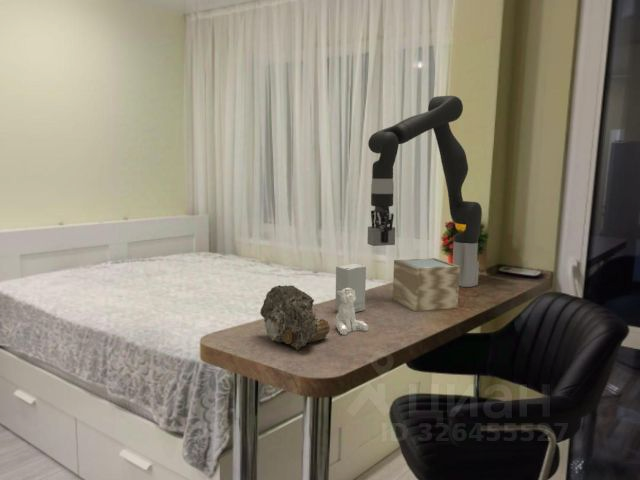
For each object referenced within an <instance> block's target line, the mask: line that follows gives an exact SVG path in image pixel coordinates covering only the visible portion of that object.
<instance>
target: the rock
mask: <svg viewBox="0 0 640 480" xmlns="http://www.w3.org/2000/svg"><path fill="white" fill-rule="evenodd" d="M314 302H315V299H313V297H312V296H311V295H309V294H308V293H306V292H305V291H302V290H301V289H299V288H298V287H295V285H287V284H286V285H276V286H273V287H272V288H271V289H270V290H269V291H267V293H266V296H265V298H264V299H263V304H262V306H261V308H260V310H259V311H260V316H261V317H262V318H263V319H264V327H265V331H266V334H267V336H268V337H269V338H270V339H271V340H272V341H273V342H274V341H276V342H278V343H280V344H281V343H284V344H287V345H290V346H291V347H293V348H294V349H295V350H297V351H299V350H300V349H301V347H303V346H304V347H305V346H306V345H307V343H314V341H315V342H318V340H319V341H320V340H322V339H325V338H326V337H327V335H328V334H330V330H331V329H330V328H331V327H330V324H329V323H328V321H326V320H325V319H324V318H322V319H320V320H318V319H319V318H316V315H317V314H316V312H313V310H314V309H313V306H314Z"/></svg>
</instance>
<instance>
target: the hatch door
mask: <svg viewBox="0 0 640 480" xmlns="http://www.w3.org/2000/svg"><path fill="white" fill-rule="evenodd" d="M427 259H428V260H407V259H405V260H406V261H401V262H403V263H406V264H409V265H411V266H414V267H417V268H425V267H445V266H451V265H448V264H445V263H442V262H439V261H436V260H434V259H429V258H427Z"/></svg>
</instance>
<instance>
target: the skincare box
mask: <svg viewBox="0 0 640 480" xmlns="http://www.w3.org/2000/svg"><path fill="white" fill-rule="evenodd" d="M366 275H367V266H366V265H364V264H359V263H357V262H356V263H355V262H354V263H349V264H344V265H337V266H335V307H334V308H335V311H337V312H339V310H338V309H339V306H340V305H341V304H342V303H343V302H342V301H341V299H340V296H339V295H338V294H337V291H342V289H346V288H351V289H353V291H354V290H355V291H354V292H355V296H356V300H355V301H354V303H353V304H354V308H355V313H358V312H361V311H365V310H366V286H367V285H366V280H367V279H366V277H367V276H366Z"/></svg>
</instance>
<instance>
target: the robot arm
mask: <svg viewBox="0 0 640 480" xmlns="http://www.w3.org/2000/svg"><path fill="white" fill-rule="evenodd" d="M427 109H428V110H427V111H425V112H422V113H419V114H416V115H412V116H410V117H407V118H405V119H403V120H402V121H399V122H398V123H395V124H394V125H392V126H389V127H387V128H384V129H380V130H378V131H376V132H375V133H373V134H372V135H371V136H370V137H369V138H368V143H367V145H368V148H369V149H370V151H371V152H372V153H374V154H379V159H378V160H375V161H374V162H373V163H372V167H371V168H372V169H371V171H372V172H371V174H372V175H371V186H370V189H371V190H370V191H371V192H370V194H371V195H370V206H372V207H374V210H372V209H371V211H370V216H371V218H370V219H371V226H381V230H382V237H381V242H382V243H388V232H389V231H391V230H392V227H393V223H394V216H395V215H394V213H390V207H393V206H394V188H395V187H394V186H395V185H394V184H395V183H394V164H395V162H396V157H397V154H398V150H399V147H400V146H399V145H402V144H405V143H408V142H409V141H411V140H413V139H414V138H416V137H418V136H420V135H422V134H424V133H426V132H429V131H430V130H433V133H434V135H435V139H436V143H437V147H438V150H439V155H440V161H441V166H442V167H441V168H442V170H443V175H444V178H445V184H446V190H447V195H448V206H449V213H450V217H451V220H452V222H453V223H455V224H457V225H464V226H465V229H464V230H462V231H461V232H457V233H455V234H454V236H453V247H452V249H453V250H452V264H454V265H457V266H460V272H459V287H463V288H464V287H465V288H471V287H473V288H474V287H475V286H478V284H479V270H480V269H479V268H480V267H479V266H480V262H479V261H478V250H479V249H478V248H479V247H478V245H479V238H480V234H481V227H482V226H481V224H482V218H483V217H482V216H483V211H482V210H483V209H482V206H481V204H480V203H479V202H477V201H468V200H467V201H466V200H464V198H463V193H462V190H463V189H462V187H463V184H464V182H465V181H466V178H467V175H468V172H469V165H468V158H467V154H466V151H465V149H464V147H463V146H462V144H461V143H460V142H459V141H458V139H457V138H456V137H455V136H454V134H453V131H452V130H451V126H450V123H452V122H455V121H457V120H458V119H460V117H461V115H462V114H463V110H464V105H463V101H462V100H461V98H460V97H458V96H455V95H439V96H437V95H436V96H433V97H432V98H431V99H430V100H429V103H428V108H427Z"/></svg>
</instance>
